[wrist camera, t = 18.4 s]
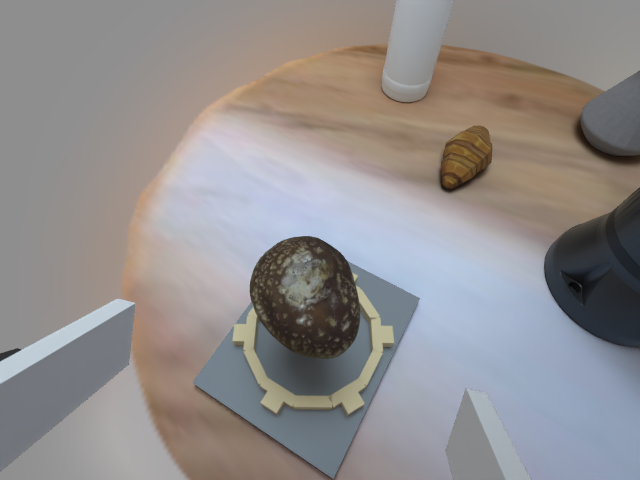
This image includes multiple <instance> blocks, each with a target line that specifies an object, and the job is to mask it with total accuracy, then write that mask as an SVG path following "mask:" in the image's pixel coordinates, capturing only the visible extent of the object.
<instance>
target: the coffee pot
mask: <svg viewBox="0 0 640 480" xmlns="http://www.w3.org/2000/svg"><path fill="white" fill-rule="evenodd" d="M580 122H581V127H582V130H583V132H584V136H585V137H586V139H587V141H588V142H589V143H590V144H591V145H592V146H594V147H595V148H596V149H598V150H600V151H602V152H604V153H607V154H610V155H615V156H626V155H640V71H638V72H637V73H635V74H633V75H632V76H630V77H628V78H627V79H625V80H624V81H622V82H620V83H619V84H617V85H616V86H614V87H612V88H611V89H609V90H607V91H606V92H604V93H603V94H601V95H599V96H598V97H596V98H595V99H593V100H591V101H590V102H588V103H587V104H586V105H585V107H584V108H583V110H582V113H581V118H580Z"/></svg>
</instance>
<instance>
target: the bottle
mask: <svg viewBox="0 0 640 480" xmlns="http://www.w3.org/2000/svg"><path fill="white" fill-rule="evenodd" d="M454 2H455V0H396V6H395V11H394V17H393V22H392V28H391V33H390V39H389V44H388V50H387V55H386V61H385V66H384V69H383V75H382V86H381V88H382V90H383V92H384V93H385V94H386V95H387V96H388V97H390V98H392V99H394V100H396V101H400V102H414V101H417V100H420V99H422V98H423V97H424V96H425V95H426V93H427V91H428V87H429V85H430V83H431V80H432V74H433V71H434V68H435V64H436V61H437V58H438V54H439V51H440V48H441V44H442V41H443V38H444V35H445V31H446V28H447V25H448V21H449V18H450V15H451V11H452V8H453V5H454Z"/></svg>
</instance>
